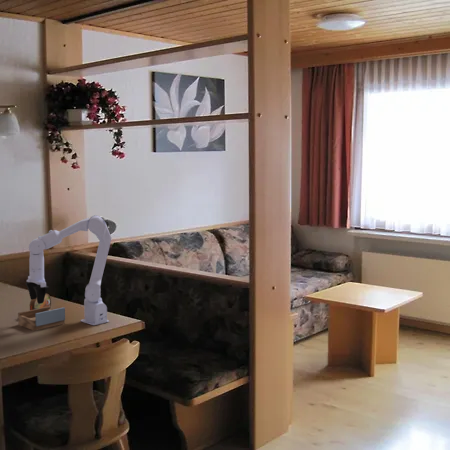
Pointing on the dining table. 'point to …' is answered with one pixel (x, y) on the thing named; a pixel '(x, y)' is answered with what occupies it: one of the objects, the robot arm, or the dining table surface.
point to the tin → (46, 303)
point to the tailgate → (50, 316)
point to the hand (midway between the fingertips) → (36, 301)
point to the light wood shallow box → (29, 319)
